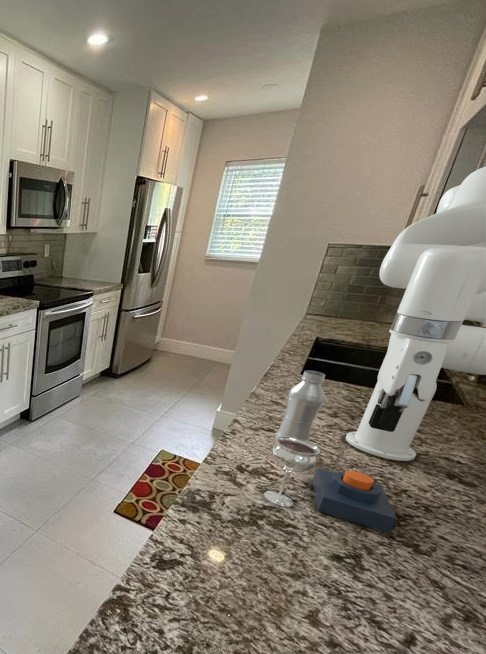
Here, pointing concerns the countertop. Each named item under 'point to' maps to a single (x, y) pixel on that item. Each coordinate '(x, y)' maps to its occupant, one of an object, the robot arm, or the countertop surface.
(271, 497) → the wineglass
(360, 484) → the orange button cap
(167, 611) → the countertop surface
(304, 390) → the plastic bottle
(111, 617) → the countertop surface
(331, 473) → the button base
